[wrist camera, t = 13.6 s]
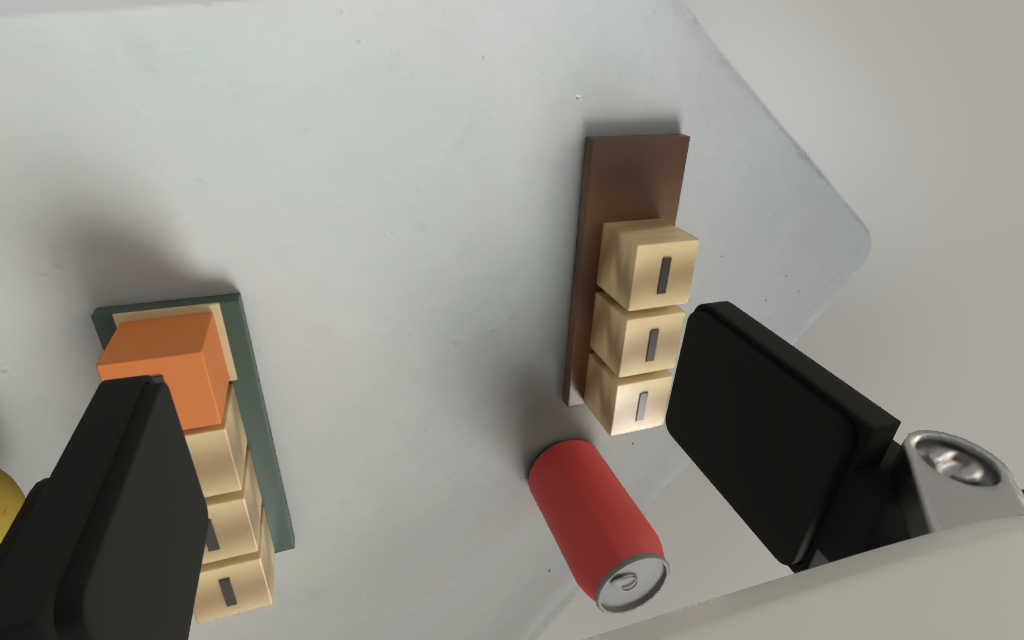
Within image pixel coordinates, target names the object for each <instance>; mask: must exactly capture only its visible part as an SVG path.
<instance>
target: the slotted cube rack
mask: <svg viewBox="0 0 1024 640" xmlns="http://www.w3.org/2000/svg"><path fill="white" fill-rule="evenodd" d="M210 312H213V314H214V318H215V322H216V326H217V330H218V334H219V338H220V342H221V346H222V350H223V354H224V358H225V362H226V366H227V369H228V373H229V377H230V379H229V385H228V390H227V396H226V401H225V407H224V412H223V418H222V423H221V424H215V425H209V426H204V427H198V428H192V429H186V430H183V433H184V436H185V439H186V442H187V445H188V448H189V451H190V454H191V457H192V461H193V464H194V467H195V470H196V473H197V476H198V479H199V482H200V486H201V489H202V492H203V495H204V498H205V501H206V504H207V508H208V516H209V526H208V533H207V538H206V544H205V549H204V555H203V560H202V566H201V571H200V577H199V582H198V588H197V593H196V599H195V604H194V609H193V613H194V616H195V618H196V621H197V623H202V622H206V621H210V620H214V619H218V618H221V617H225V616H229V615H233V614H236V613H240V612H244V611H248V610H251V609H255V608H259V607H263V606H266V605H270V604H272V603H273V581H274V555H275V553H277V552H281V551H286V550H290V549H294V548H295V537H294V532H293V528H292V523H291V519H290V514H289V510H288V505H287V501H286V496H285V492H284V487H283V483H282V478H281V474H280V469H279V465H278V460H277V456H276V451H275V447H274V442H273V438H272V433H271V429H270V424H269V420H268V415H267V411H266V406H265V402H264V397H263V393H262V388H261V384H260V379H259V375H258V370H257V366H256V361H255V357H254V352H253V348H252V343H251V339H250V334H249V330H248V325H247V321H246V316H245V312H244V307H243V303H242V298H241V294H240V293H236V294H227V295H217V296H208V297H198V298H189V299H179V300H170V301H160V302H150V303H141V304H131V305H122V306H112V307H103V308H97V309H96V310H95V311H94V313H93V314H92V316H91V317H92V320H93V322H94V325H95V328H96V331H97V333H98V336H99V339H100V341H101V344H102V347H103V350H105V349H106V347H107V345H108V343H109V342H110V340H111V338H112V337H113V335H114V333H115V331H116V330H117V328H118V326H119V324H120V323H122V322H131V321H139V320H148V319H157V318H166V317H175V316H183V315H192V314H201V313H210Z"/></svg>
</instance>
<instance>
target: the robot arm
mask: <svg viewBox="0 0 1024 640" xmlns="http://www.w3.org/2000/svg"><path fill="white" fill-rule="evenodd" d="M900 423H901V422H900V421H899V420H898V419H896V418H895V417H893V416H892V415H891V414H889V413H888V412H886V411H885V410H883V409H882V408H881V407H879V406H877V405H876V404H875V403H873V402H872V401H871V400H869V399H868V398H866V397H865V396H863V395H862V394H860V393H859V392H858V391H856V390H855V389H854V388H852V387H851V386H849V385H848V384H846V383H845V382H844V381H842V380H841V379H839V378H838V377H836V376H835V375H833V374H832V373H831V372H829V371H828V370H826V369H825V368H824V367H822V366H821V365H819V364H818V363H816V362H815V361H813V360H812V359H811V358H809V357H807V356H806V355H804V354H803V353H802V352H800V351H799V350H798V349H796V348H795V347H793V346H792V345H791V344H789V343H788V342H786V341H785V340H783V339H782V338H781V337H779V336H778V335H776V334H775V333H773V332H772V331H771V330H769V329H768V328H766V327H765V326H763V325H762V324H761V323H759V322H758V321H756V320H755V319H753V318H752V317H751V316H749V315H748V314H746V313H745V312H743V311H742V310H741V309H739V308H738V307H736V306H735V305H733V304H732V303H730V302H728V301H722V302H714V303H707V304H701V305H699V306H697V308H696V309H695V310H694V312H693V313H691V314H690V316H689V318H688V320H687V325H686V329H685V334H684V338H683V343H682V347H681V351H680V356H679V360H678V365H677V369H676V373H675V378H674V382H673V387H672V391H671V395H670V400H669V404H668V409H667V413H666V426H667V429H668V431H669V433H670V435H671V436H672V437H673V438H674V439H675V441H676V442H677V443H678V444H679V445H680V446H681V448H682V449H683V450H684V451H685V452H686V454H687V455H688V456H689V457H690V458H691V459H692V461H693V462H694V463H695V464H696V465H697V466H698V468H699V469H700V470H701V471H702V472H703V473H704V475H705V476H706V477H707V478H708V479H709V480H710V482H711V483H712V484H713V485H714V486H715V488H716V489H717V490H718V491H719V492H720V493H721V495H722V496H723V497H724V498H725V499H726V500H727V502H728V503H729V504H730V505H731V506H732V507H733V509H734V510H735V511H736V512H737V513H738V515H739V516H740V517H741V518H742V519H743V520H744V522H745V523H746V524H747V525H748V526H749V528H750V529H751V530H752V531H753V532H754V533H755V535H756V536H757V537H758V538H759V539H760V540H761V542H762V543H763V544H764V545H765V546H766V547H767V549H768V550H769V551H770V552H771V553H772V555H773V556H774V557H775V558H776V559H777V560H778V561H779V562H780V563H782V564H784V565H788V566H789V567H790V569H791V570H792V571H793V572H794V573H795V574H792V575H789V576H785V577H782V578H779V579H776V580H772V581H769V582H766V583H763V584H759V585H756V586H753V587H749V588H746V589H743V590H740V591H737V592H734V593H730V594H727V595H724V596H721V597H717V598H714V599H711V600H708V601H705V602H702V603H698V604H695V605H692V606H689V607H686V608H682V609H679V610H676V611H673V612H670V613H667V614H663V615H660V616H657V617H654V618H650V619H647V620H644V621H641V622H638V623H635V624H631V625H628V626H625V627H622V628H619V629H616V630H612V631H609V632H606V633H603V634H600V635H597V636H594V637H590V638H588V639H584V640H1024V490H1022V489H1020V487H1019V485H1018V483H1017V481H1016V480H1015V478H1014V476H1013V474H1012V473H1011V472H1010V470H1009V469H1008V468H1007V467H1006V465H1005V464H1004V463H1003V462H1001V461H1000V460H999V459H998V458H997V457H996V456H994V455H993V454H992V453H990V452H988V451H987V450H985V449H983V448H982V447H980V446H979V445H976V444H974V443H972V442H970V441H968V440H965V439H963V438H961V437H958V436H954V435H951V434H948V433H944V432H938V431H932V430H918V431H915V432H912V433H910V434H908V436H907V437H906V438H905V440H904V442H903V443H902V445H899V444H898V443H897V442H895V441H894V440H893V438H894V435H895V433H896V431H897V429H898V427H899V425H900ZM208 526H209V516H208V508H207V504H206V501H205V498H204V495H203V492H202V489H201V486H200V482H199V479H198V476H197V473H196V470H195V467H194V464H193V461H192V457H191V454H190V451H189V448H188V445H187V442H186V439H185V436H184V433H183V429H182V426H181V423H180V420H179V417H178V414H177V411H176V408H175V404H174V401H173V398H172V395H171V392H170V389H169V387H168V385H167V384H166V383H165V382H160V383H154V381H153V379H152V378H151V376H149V375H141V376H133V377H125V378H117V379H109V380H104V381H102V382H101V384H100V385H99V387H98V389H97V390H96V392H95V394H94V396H93V398H92V400H91V402H90V403H89V405H88V407H87V409H86V411H85V413H84V415H83V416H82V418H81V420H80V422H79V424H78V426H77V428H76V429H75V431H74V433H73V435H72V437H71V439H70V441H69V442H68V444H67V446H66V448H65V450H64V452H63V454H62V455H61V457H60V459H59V461H58V463H57V465H56V467H55V468H54V470H53V472H52V474H51V476H50V478H46V479H43V480H41V481H39V482H38V483H36V484H35V486H34V487H33V488H32V490H31V491H30V492H29V494H28V496H27V497H26V499H25V501H24V503H23V504H22V506H21V508H20V510H19V512H18V513H17V515H16V517H15V519H14V520H13V522H12V524H11V526H10V528H9V529H8V531H7V533H6V535H5V536H4V538H3V540H2V542H1V544H0V640H188V637H189V631H190V626H191V620H192V615H193V609H194V604H195V599H196V593H197V588H198V582H199V577H200V571H201V566H202V560H203V555H204V549H205V544H206V538H207V533H208Z"/></svg>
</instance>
